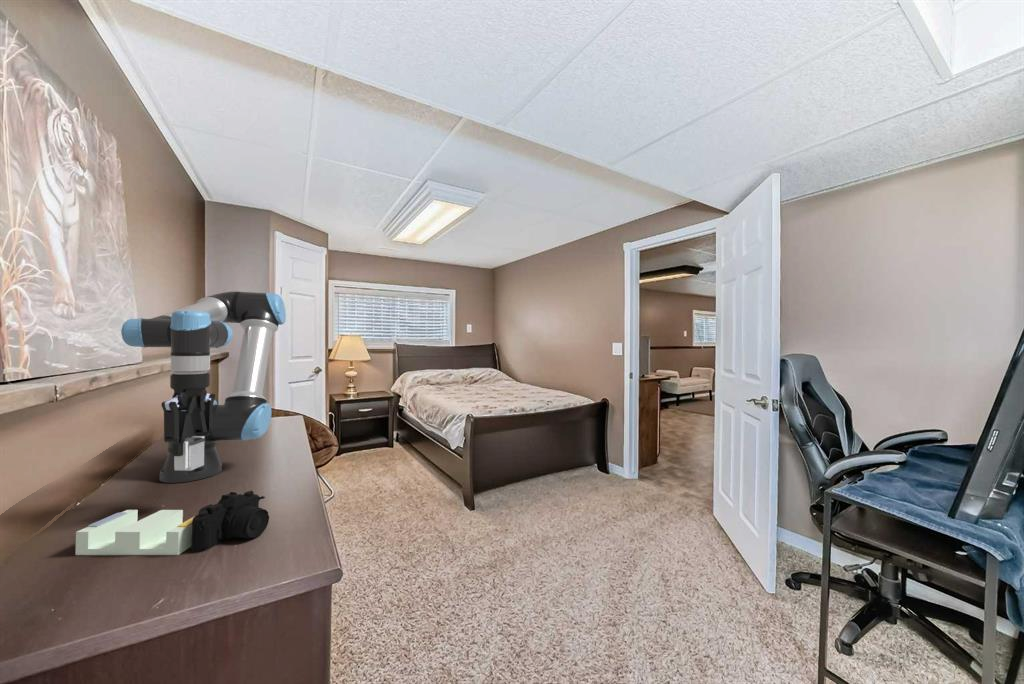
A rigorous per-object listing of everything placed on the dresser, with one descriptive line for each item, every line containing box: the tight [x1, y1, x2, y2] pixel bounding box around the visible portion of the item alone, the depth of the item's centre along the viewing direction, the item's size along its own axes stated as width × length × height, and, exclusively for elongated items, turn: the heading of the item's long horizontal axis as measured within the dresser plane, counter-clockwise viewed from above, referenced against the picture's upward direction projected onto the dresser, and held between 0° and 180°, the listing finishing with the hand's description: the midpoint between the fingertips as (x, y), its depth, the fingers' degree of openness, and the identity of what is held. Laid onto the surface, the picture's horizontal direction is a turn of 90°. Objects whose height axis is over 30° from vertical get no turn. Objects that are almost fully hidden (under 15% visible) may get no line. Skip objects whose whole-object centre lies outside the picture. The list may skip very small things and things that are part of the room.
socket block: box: [75, 509, 196, 556], centre depth 79 cm, size 10×20×5 cm, turn 91°
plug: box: [174, 438, 205, 471], centre depth 94 cm, size 4×4×7 cm
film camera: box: [190, 490, 270, 553], centre depth 82 cm, size 15×10×9 cm, turn 167°
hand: (189, 464), depth 94 cm, fingers closed on plug, 4 cm apart
